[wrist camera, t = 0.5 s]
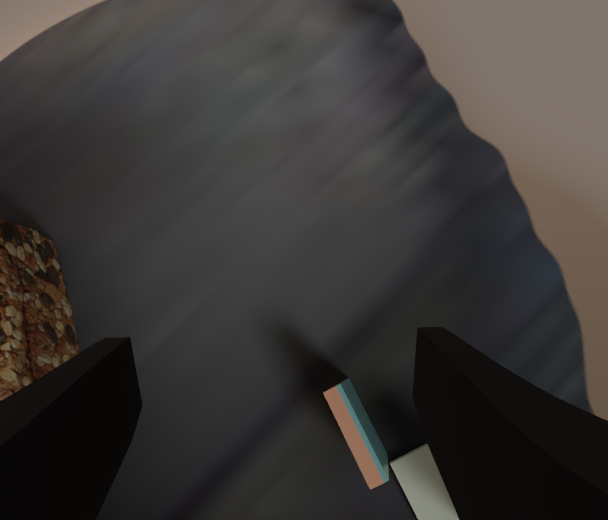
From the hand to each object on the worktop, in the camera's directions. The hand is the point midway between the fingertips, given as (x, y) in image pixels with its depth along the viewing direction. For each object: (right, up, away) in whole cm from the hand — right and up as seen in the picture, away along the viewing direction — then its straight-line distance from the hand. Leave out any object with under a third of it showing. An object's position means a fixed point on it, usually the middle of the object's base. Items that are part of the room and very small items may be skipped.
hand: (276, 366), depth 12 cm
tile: (+5, -9, +22) cm, 25 cm away
